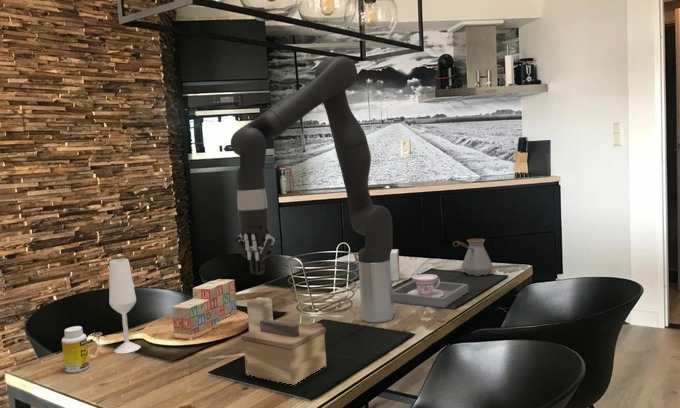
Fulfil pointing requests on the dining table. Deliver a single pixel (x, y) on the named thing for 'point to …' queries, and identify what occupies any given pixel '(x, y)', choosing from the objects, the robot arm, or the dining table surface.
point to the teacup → (426, 285)
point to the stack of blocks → (205, 307)
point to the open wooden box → (285, 360)
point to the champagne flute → (122, 297)
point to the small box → (394, 265)
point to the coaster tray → (450, 295)
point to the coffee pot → (476, 258)
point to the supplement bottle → (75, 350)
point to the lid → (283, 333)
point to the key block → (259, 311)
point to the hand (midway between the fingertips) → (257, 273)
